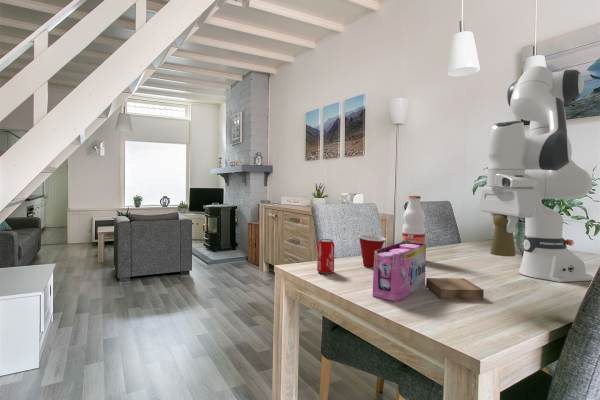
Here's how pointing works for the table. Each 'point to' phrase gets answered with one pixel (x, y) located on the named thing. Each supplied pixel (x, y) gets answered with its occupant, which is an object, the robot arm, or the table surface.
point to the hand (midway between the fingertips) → (503, 231)
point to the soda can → (325, 256)
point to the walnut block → (454, 289)
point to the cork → (502, 238)
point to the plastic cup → (370, 248)
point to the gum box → (399, 270)
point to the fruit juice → (414, 222)
